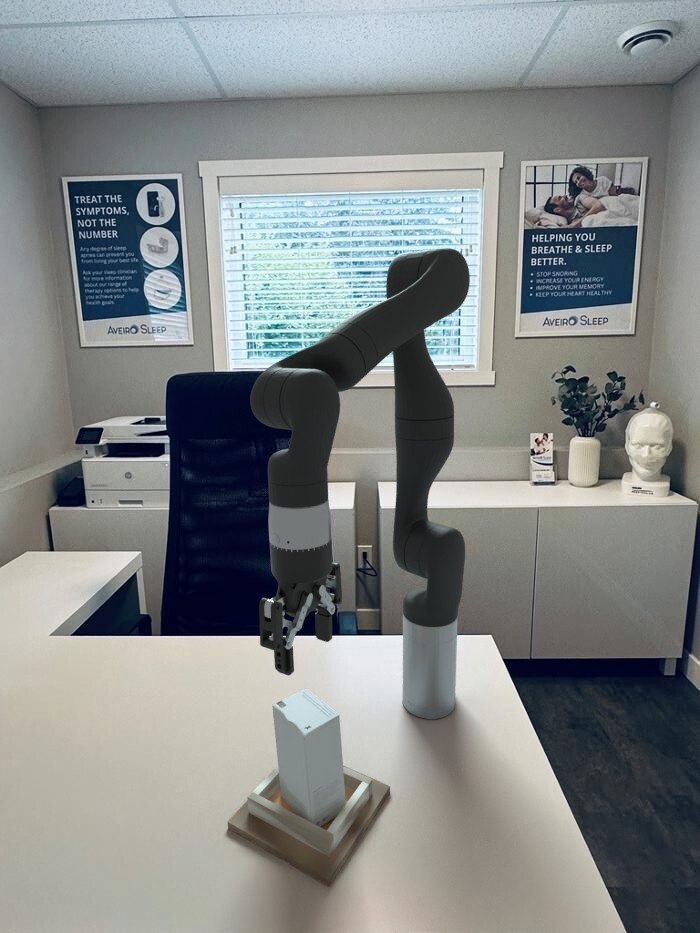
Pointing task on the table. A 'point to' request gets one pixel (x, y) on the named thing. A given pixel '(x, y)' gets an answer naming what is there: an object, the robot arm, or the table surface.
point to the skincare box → (309, 757)
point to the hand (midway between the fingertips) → (305, 655)
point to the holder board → (309, 824)
